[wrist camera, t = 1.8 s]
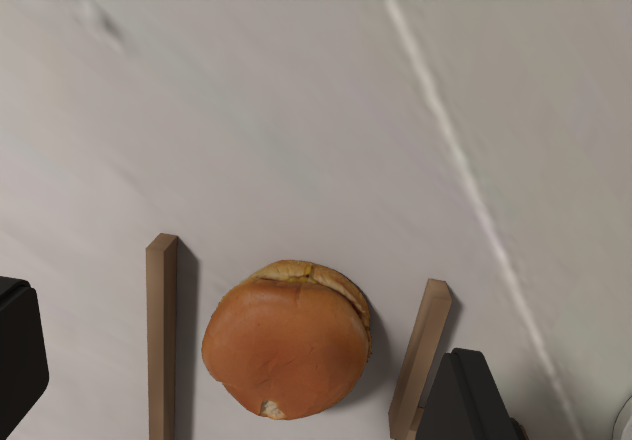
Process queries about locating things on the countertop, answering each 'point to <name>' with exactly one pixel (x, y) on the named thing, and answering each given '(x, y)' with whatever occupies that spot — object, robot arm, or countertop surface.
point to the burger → (289, 340)
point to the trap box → (164, 343)
